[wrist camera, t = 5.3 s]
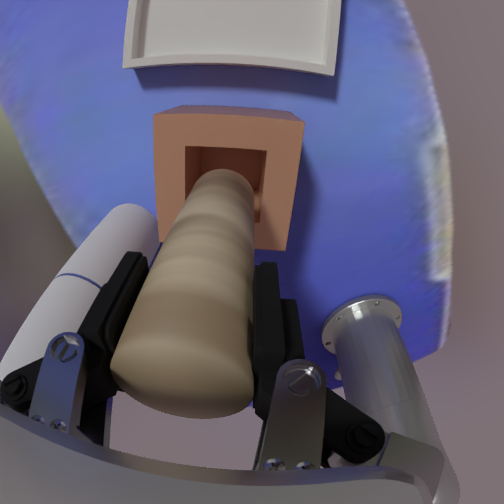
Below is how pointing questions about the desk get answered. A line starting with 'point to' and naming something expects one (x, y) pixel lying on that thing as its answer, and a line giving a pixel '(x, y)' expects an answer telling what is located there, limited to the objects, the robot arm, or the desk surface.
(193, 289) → the dowel pin
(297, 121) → the deep holder
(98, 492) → the robot arm
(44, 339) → the cylindrical container
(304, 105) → the desk surface
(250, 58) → the tray
